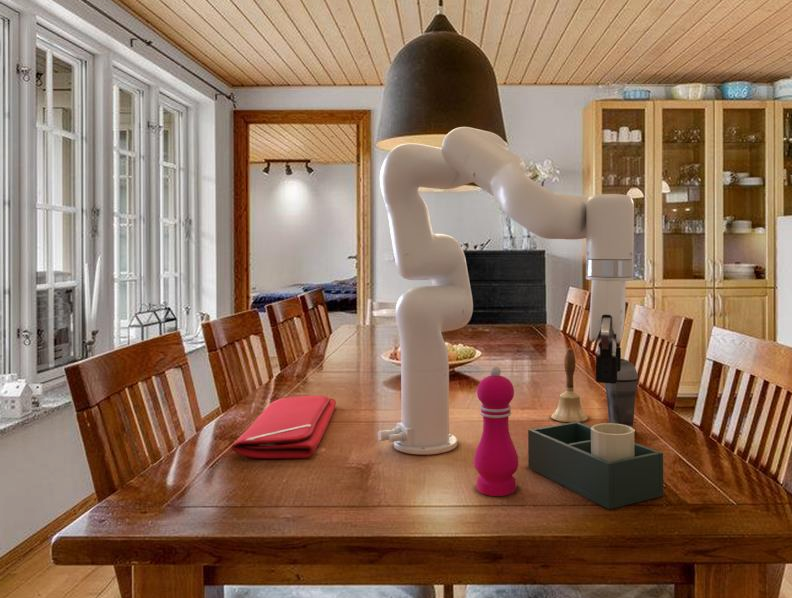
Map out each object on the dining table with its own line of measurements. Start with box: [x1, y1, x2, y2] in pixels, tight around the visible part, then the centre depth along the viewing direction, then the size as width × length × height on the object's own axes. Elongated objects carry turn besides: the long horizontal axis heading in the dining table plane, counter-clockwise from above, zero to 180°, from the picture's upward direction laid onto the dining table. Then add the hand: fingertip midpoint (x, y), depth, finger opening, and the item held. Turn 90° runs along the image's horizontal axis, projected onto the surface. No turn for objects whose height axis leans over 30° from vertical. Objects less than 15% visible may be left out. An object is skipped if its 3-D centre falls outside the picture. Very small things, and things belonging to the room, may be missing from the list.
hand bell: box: [550, 348, 589, 423], centre depth 151 cm, size 8×8×16 cm
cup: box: [591, 422, 636, 462], centre depth 106 cm, size 7×7×9 cm
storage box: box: [527, 422, 665, 510], centre depth 111 cm, size 11×21×7 cm, turn 28°
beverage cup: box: [603, 358, 639, 429], centre depth 139 cm, size 7×7×20 cm
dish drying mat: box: [231, 395, 337, 459], centre depth 143 cm, size 16×41×4 cm, turn 4°
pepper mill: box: [473, 365, 519, 497], centre depth 107 cm, size 7×7×20 cm
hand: (608, 376), depth 107 cm, fingers open, 9 cm apart
